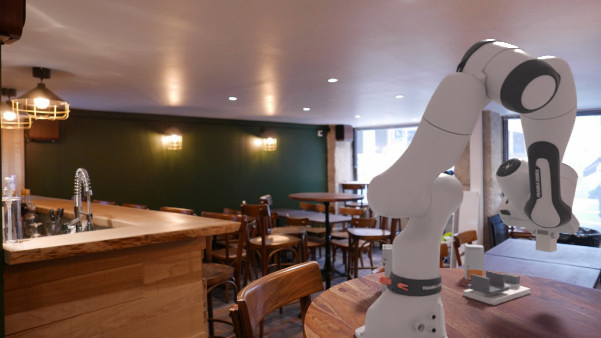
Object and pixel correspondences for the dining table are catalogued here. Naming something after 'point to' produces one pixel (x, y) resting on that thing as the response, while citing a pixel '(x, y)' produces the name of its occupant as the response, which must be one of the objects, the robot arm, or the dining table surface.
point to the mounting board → (499, 295)
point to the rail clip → (493, 283)
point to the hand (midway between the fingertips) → (546, 235)
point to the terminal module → (545, 241)
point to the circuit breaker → (387, 261)
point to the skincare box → (473, 261)
